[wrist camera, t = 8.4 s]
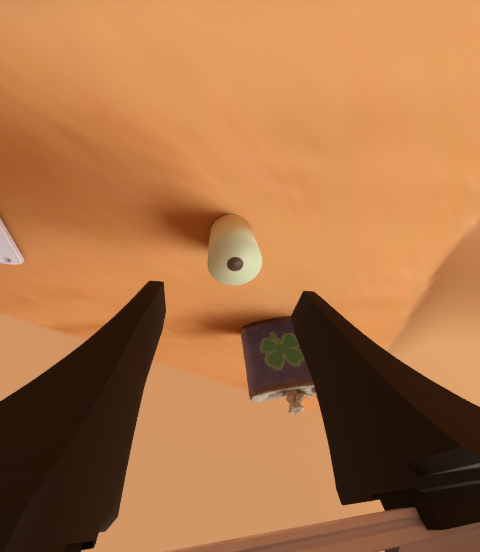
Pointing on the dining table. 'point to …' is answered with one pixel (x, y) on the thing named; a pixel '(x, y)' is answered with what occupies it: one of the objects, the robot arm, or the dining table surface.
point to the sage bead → (233, 251)
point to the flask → (276, 363)
